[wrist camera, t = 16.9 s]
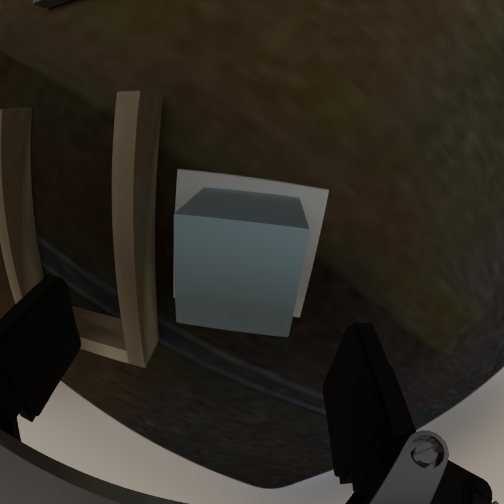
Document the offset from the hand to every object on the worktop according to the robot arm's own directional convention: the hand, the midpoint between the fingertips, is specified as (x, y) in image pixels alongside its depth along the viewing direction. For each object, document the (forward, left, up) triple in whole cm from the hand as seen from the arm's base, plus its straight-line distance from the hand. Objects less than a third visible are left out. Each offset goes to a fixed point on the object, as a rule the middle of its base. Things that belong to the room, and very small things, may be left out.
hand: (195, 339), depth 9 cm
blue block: (+1, 0, -8) cm, 8 cm away
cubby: (-10, 0, -9) cm, 13 cm away
